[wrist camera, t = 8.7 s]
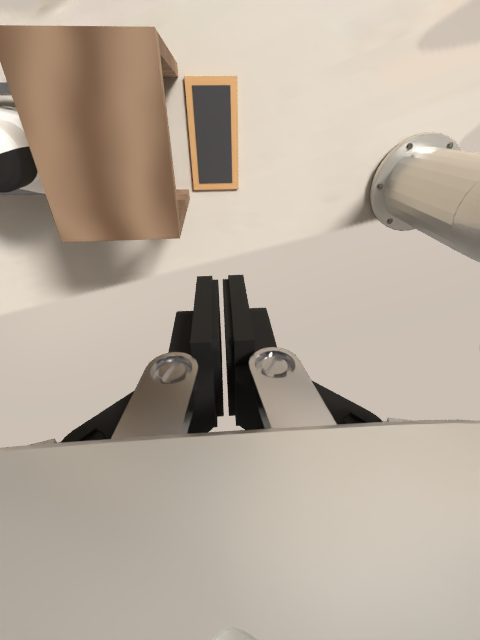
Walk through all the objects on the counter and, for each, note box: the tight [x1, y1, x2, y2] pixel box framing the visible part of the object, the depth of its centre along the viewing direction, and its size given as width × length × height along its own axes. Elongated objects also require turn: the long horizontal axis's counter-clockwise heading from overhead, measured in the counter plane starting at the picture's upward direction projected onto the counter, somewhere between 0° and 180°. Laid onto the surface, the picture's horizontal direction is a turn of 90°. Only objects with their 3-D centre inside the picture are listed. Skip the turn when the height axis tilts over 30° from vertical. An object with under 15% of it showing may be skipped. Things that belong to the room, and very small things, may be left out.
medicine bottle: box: [0, 106, 45, 194], centre depth 32 cm, size 7×7×12 cm
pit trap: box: [184, 76, 238, 190], centre depth 38 cm, size 6×12×1 cm, turn 0°
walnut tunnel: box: [0, 25, 190, 242], centre depth 31 cm, size 11×14×16 cm
